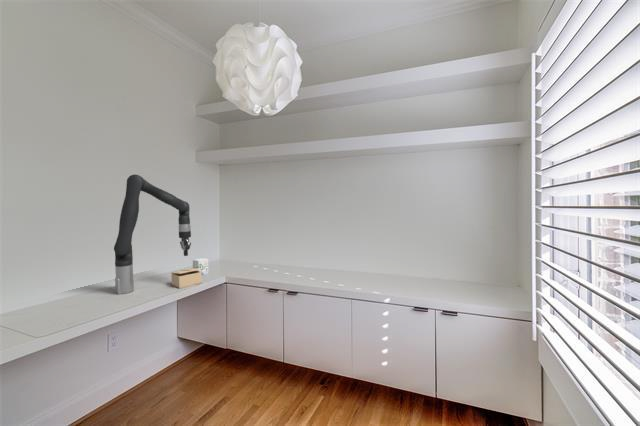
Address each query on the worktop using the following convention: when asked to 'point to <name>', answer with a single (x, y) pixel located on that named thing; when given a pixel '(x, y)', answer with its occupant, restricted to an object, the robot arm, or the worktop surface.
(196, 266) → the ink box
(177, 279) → the carton
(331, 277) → the worktop surface
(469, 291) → the worktop surface
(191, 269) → the lid
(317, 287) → the worktop surface
